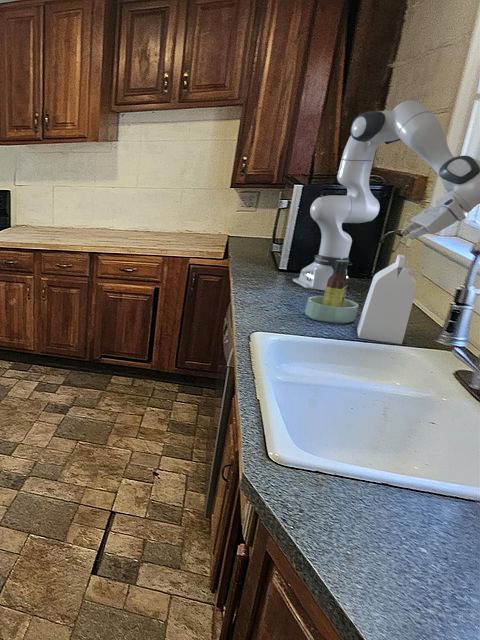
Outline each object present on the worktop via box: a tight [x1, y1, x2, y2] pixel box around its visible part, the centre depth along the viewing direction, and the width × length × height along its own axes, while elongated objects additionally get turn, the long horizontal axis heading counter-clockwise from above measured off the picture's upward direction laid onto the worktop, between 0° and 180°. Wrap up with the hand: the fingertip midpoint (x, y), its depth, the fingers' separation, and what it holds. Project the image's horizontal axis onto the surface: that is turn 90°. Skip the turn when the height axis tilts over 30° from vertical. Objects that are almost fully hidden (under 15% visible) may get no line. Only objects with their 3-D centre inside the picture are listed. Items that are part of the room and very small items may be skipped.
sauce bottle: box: [322, 260, 350, 307], centre depth 186 cm, size 7×6×20 cm
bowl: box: [304, 295, 360, 325], centre depth 189 cm, size 16×16×6 cm
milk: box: [356, 254, 418, 345], centre depth 167 cm, size 12×12×26 cm
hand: (405, 236), depth 178 cm, fingers open, 8 cm apart
